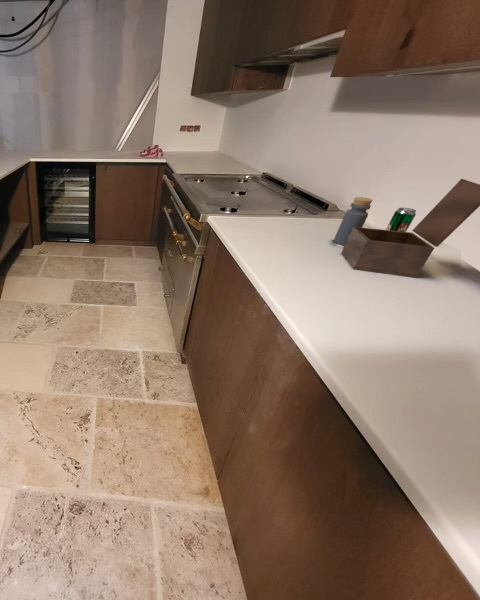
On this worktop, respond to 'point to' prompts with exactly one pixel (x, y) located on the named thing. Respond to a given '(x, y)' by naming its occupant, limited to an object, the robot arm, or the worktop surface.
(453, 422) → the worktop surface
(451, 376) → the worktop surface
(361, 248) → the brown wooden box
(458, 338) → the worktop surface
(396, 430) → the worktop surface
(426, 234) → the lid
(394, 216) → the soda can
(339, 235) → the bottle
